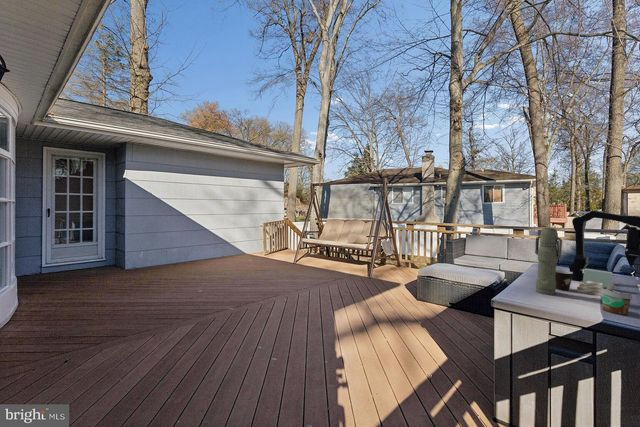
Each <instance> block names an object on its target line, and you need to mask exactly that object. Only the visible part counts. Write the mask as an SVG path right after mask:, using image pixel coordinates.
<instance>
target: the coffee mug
mask: <svg viewBox="0 0 640 427" xmlns="http://www.w3.org/2000/svg"><path fill="white" fill-rule="evenodd" d="M572 275H573V272H570V270H563V269H556V275H555V280H556V290H559V291H562V292H569V291H570V287H571V283H572V280H571V279H572Z"/></svg>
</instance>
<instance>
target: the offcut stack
mask: <svg viewBox="0 0 640 427" xmlns="http://www.w3.org/2000/svg"><path fill="white" fill-rule="evenodd" d="M586 286H587V287H586V288H588V289H594V290H600V291H601V289H602V286H603V283H598V282H591V281H587V282H586Z"/></svg>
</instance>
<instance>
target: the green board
mask: <svg viewBox="0 0 640 427" xmlns="http://www.w3.org/2000/svg"><path fill="white" fill-rule="evenodd" d="M583 273H584V277H583V280H582V284H586V282H587V281H591V282H598V283H603V286H602V287H607V288H611V283H613V282H612V281H613V280H612V279H613V272H612V271H606V270H600V269H599V270H598V269H591V268H583ZM611 289H612V288H611Z"/></svg>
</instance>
